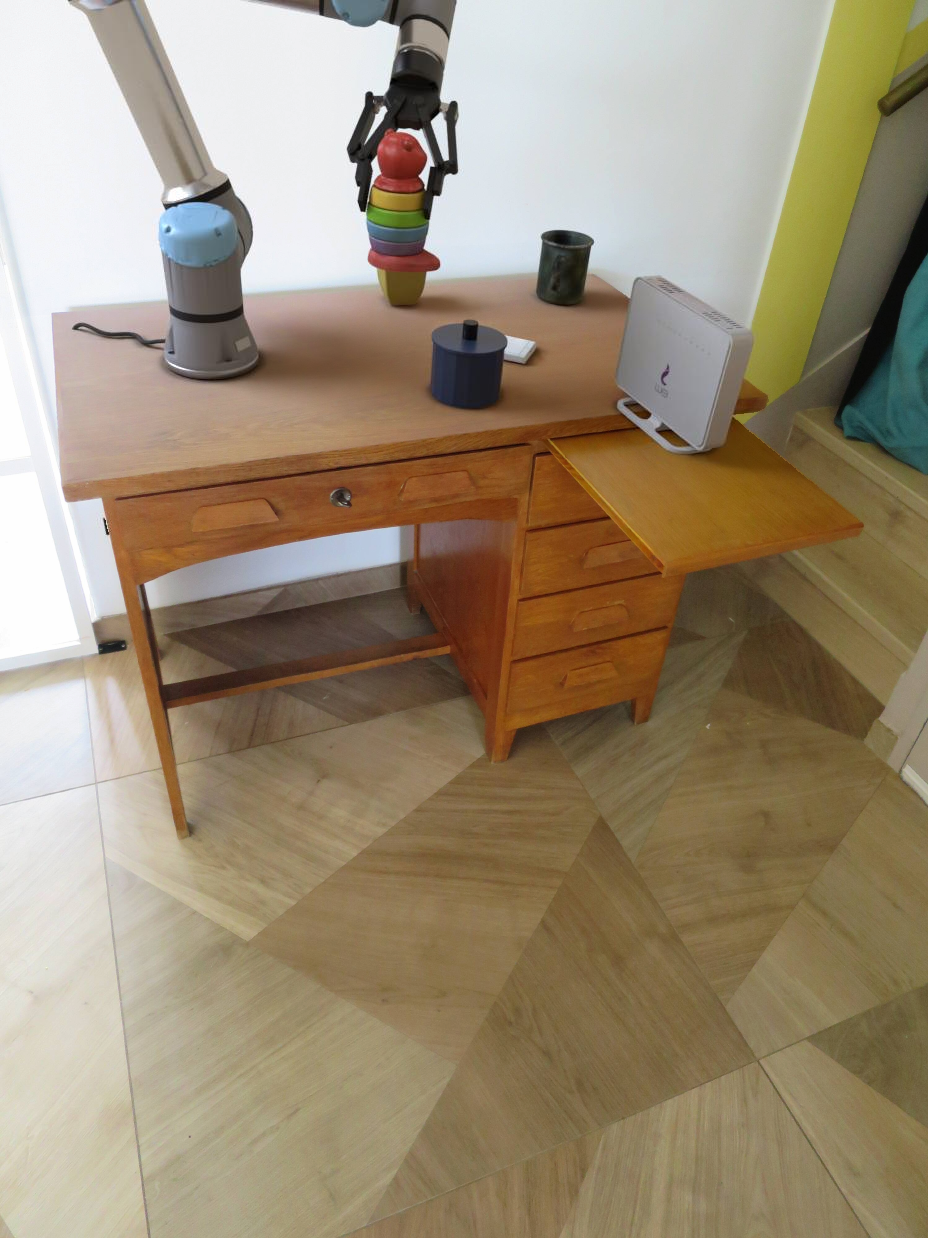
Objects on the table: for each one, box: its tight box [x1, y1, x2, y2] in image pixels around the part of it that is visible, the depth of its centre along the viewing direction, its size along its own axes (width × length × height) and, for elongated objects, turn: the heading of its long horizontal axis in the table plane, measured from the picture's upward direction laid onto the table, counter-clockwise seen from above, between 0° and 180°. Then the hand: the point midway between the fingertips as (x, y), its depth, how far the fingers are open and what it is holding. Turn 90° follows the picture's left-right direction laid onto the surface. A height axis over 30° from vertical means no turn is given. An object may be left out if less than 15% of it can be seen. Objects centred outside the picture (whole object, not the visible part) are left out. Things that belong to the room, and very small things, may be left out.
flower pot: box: [376, 268, 428, 306], centre depth 174 cm, size 9×9×9 cm
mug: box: [535, 229, 595, 306], centre depth 180 cm, size 11×15×12 cm
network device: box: [614, 274, 755, 455], centre depth 136 cm, size 26×9×20 cm, turn 24°
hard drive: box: [504, 334, 537, 365], centre depth 160 cm, size 2×8×12 cm
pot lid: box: [430, 318, 508, 356], centre depth 139 cm, size 12×12×4 cm
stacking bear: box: [365, 129, 441, 273], centre depth 129 cm, size 11×10×18 cm
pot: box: [429, 342, 505, 410], centre depth 143 cm, size 11×11×9 cm
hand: (393, 210), depth 126 cm, fingers closed on stacking bear, 9 cm apart
